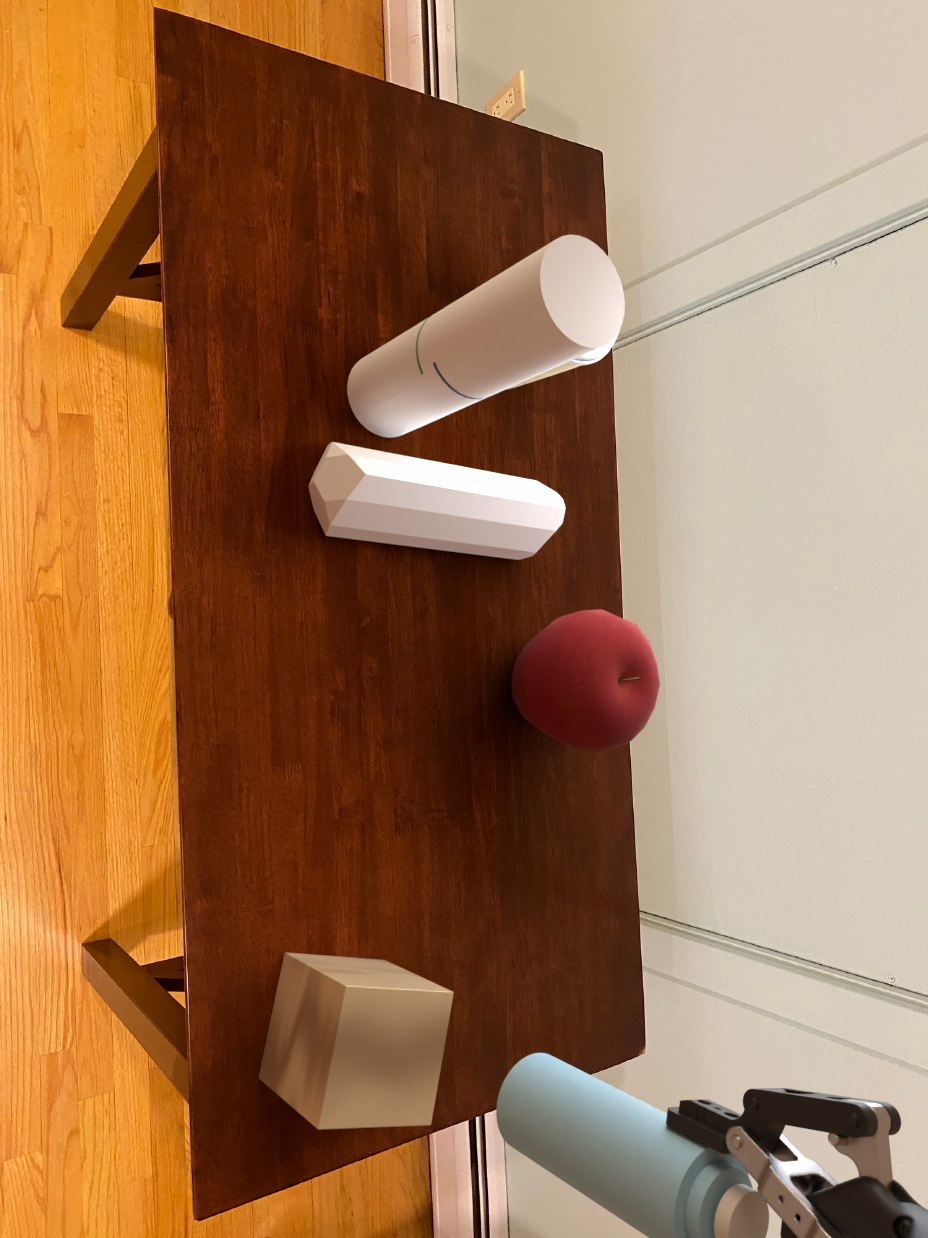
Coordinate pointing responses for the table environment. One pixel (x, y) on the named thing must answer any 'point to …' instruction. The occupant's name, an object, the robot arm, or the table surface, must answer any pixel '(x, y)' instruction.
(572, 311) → the cylindrical container
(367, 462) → the crystal
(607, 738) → the apple
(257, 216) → the table surface
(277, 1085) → the cube
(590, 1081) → the bottle
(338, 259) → the table surface
